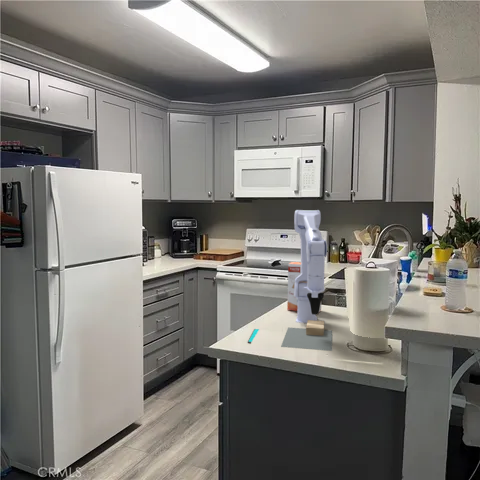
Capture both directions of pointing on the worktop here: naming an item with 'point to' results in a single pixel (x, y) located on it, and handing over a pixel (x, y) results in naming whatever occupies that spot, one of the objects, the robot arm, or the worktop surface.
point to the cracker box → (293, 272)
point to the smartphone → (253, 335)
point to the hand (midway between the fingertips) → (315, 314)
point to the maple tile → (315, 327)
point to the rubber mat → (307, 340)
